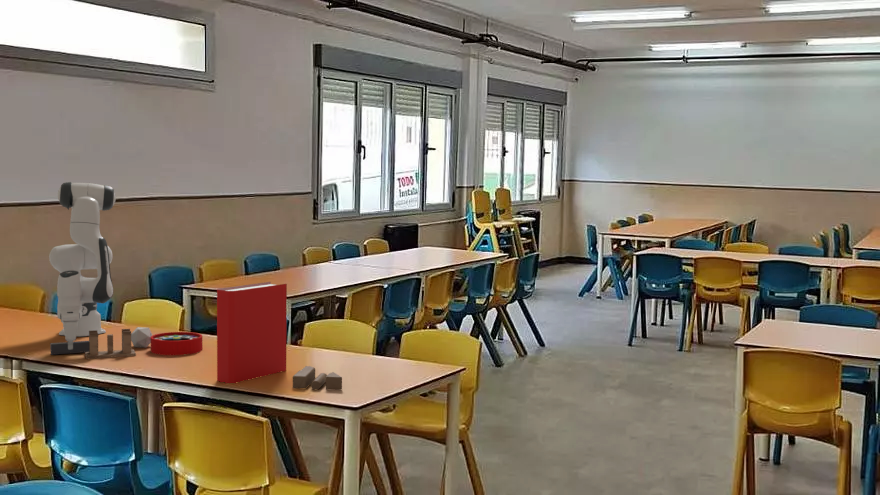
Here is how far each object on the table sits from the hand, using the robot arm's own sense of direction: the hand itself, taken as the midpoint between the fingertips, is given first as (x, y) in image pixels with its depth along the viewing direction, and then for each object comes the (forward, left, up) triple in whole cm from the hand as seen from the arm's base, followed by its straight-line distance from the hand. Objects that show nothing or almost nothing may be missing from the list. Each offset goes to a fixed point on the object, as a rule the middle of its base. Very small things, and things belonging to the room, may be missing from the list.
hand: (70, 348), depth 365 cm
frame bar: (0, 0, -2) cm, 2 cm away
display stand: (+8, +14, -2) cm, 17 cm away
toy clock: (+6, +40, -3) cm, 40 cm away
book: (+59, +58, -2) cm, 83 cm away
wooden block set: (+79, +79, -3) cm, 111 cm away
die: (-6, +27, -2) cm, 28 cm away
